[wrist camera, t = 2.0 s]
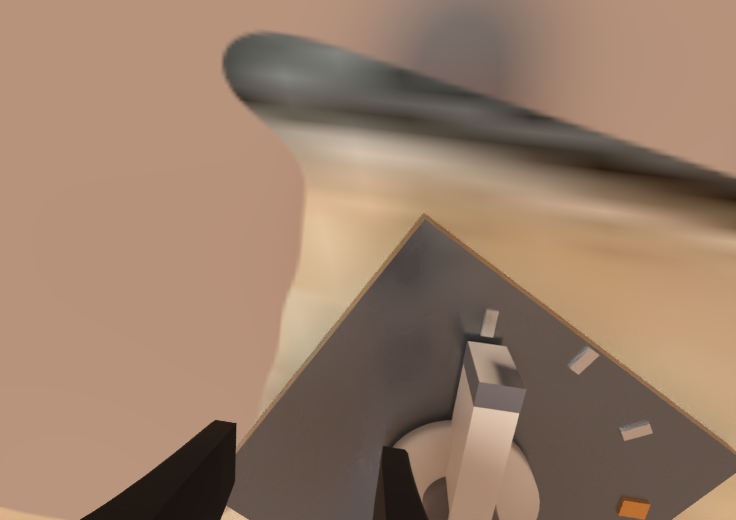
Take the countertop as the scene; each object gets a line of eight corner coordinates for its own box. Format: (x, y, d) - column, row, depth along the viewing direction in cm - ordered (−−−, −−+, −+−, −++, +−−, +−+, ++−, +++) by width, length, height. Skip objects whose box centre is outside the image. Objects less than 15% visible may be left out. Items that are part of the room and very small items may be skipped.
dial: (513, 549, 21) (532, 621, 18) (373, 526, 21) (367, 592, 18) (571, 353, 18) (605, 400, 15) (403, 329, 18) (402, 371, 15)
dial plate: (472, 637, 25) (476, 665, 24) (215, 474, 23) (203, 494, 22) (728, 444, 20) (750, 466, 19) (423, 213, 18) (425, 219, 17)
